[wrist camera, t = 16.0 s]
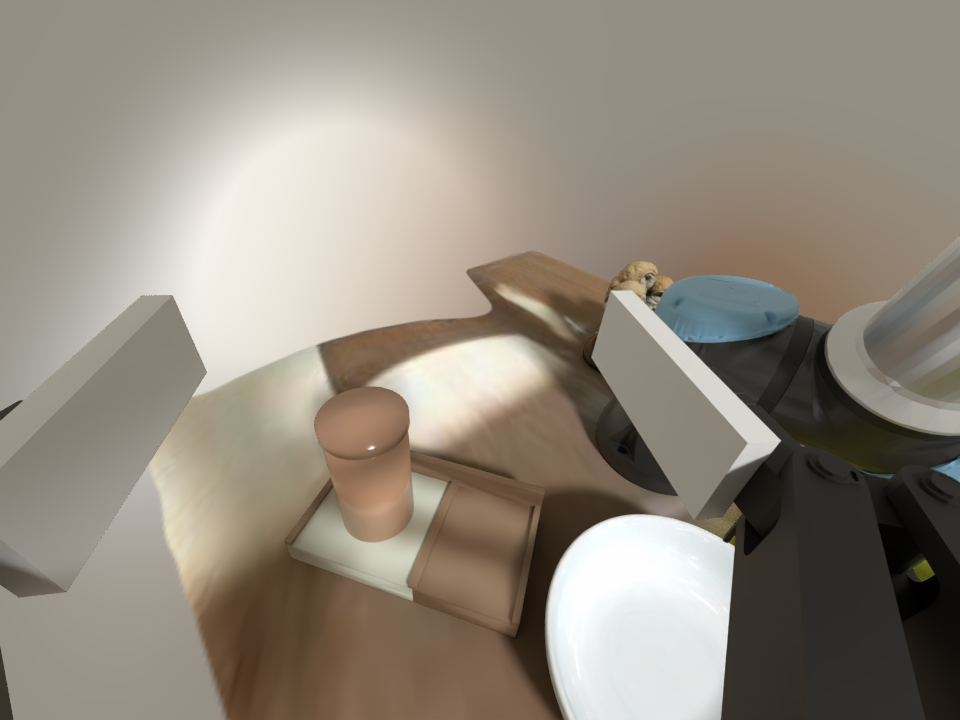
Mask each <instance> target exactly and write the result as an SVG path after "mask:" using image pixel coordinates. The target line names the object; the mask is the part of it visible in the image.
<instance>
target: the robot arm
mask: <svg viewBox="0 0 960 720" xmlns="http://www.w3.org/2000/svg"><path fill="white" fill-rule="evenodd" d="M591 358H592V359H593V361H594V362H595V364H596V366H597V367H598V369H599V370H600V372H601V374H602V375H603V377H604V378H605V380H606V381H607V383H608V385H609V386H610V388H611V389H612V391H613V393H614V394H615V397H614V398H613V400H612V401H611V402H610V403H609V404H608V405H607V406H606V407H605V408H604V410H603V411H602V413H601V415H600V418H599V421H598V424H597V427H596V441H597V445H598V447H599V449H600V451H601V453H602V455H603V456H604V458H605V459H606V460H607V462H608V463H609V464H610V465H611V466H612V467H613V468H614V469H615V470H616V471H617V472H618V473H620V474H621V475H622V476H624V477H625V478H626V479H628V480H629V481H631V482H633V483H635V484H636V485H638V486H641V487H643V488H645V489H647V490H650V491H653V492H657V493H661V494H665V495H673V496H679V497H680V499H681V500H682V502H683V504H684V505H685V507H686V508H687V510H688V512H689V513H690V515H691V516H692V518H693V520H700V519H709V518H717V517H722V516H723V515H724V514H725V513H726V511H727V510H728V509H729V507H730V506H731V505H732V503H733V502H734V503H735V504H736V505H737V507H738V508H739V509H740V511H741V512H742V513H743V514H742V515H741V516H740V517H739V519H738V520H737V521H736V522H735V523H734V525H733V526H732V527H731V528H730V530H729V531H728V532H727V533H726V534H725V537H724V539H723V541H724V542H726V543H728V542H729V541H730V540H731V539H732V538H733V536H736V538H735V550H734V563H733V575H732V587H731V600H730V612H729V625H728V637H727V649H726V662H725V674H724V687H723V699H722V711H721V720H960V482H959V481H960V236H959V237H958V238H957V239H956V240H955V241H953V243H951V244H950V245H949V246H948V247H947V248H946V249H945V250H944V251H943V252H942V253H940V254H939V255H938V256H937V257H936V258H935V259H934V260H933V261H932V262H931V263H930V264H928V265H927V266H926V267H925V268H924V269H923V270H922V271H921V272H920V273H919V274H918V275H917V276H915V277H914V278H913V279H912V280H911V281H910V282H909V283H908V284H907V285H906V286H905V287H904V288H902V289H901V290H900V291H899V292H898V293H897V294H896V295H895V296H894V297H893V298H892V299H891V300H889V301H880V302H873V303H870V304H865V305H862V306H860V307H857V308H855V309H853V310H851V311H848V312H847V313H846V314H844V315H843V316H842V317H840V318H839V319H838V320H837V321H836V322H835V323H834V324H829V323H826V322H822V321H819V320H816V319H811V318H807V317H804V316H801V315H799V303H798V300H797V299H796V298H795V297H794V296H793V295H792V294H790V293H789V292H787V291H785V290H783V289H780V288H774V287H773V285H771V284H769V283H765V282H762V281H758V280H753V279H748V278H743V277H735V276H724V275H705V276H695V277H689V278H685V279H682V280H680V281H677V282H675V283H673V284H672V285H670V286H669V287H668V288H667V289H666V290H665V291H664V293H663V294H662V296H661V298H660V301H659V303H658V305H657V307H656V309H655V312H653V311H652V310H651V309H650V308H649V307H648V306H647V305H646V304H645V303H644V302H643V301H642V300H641V299H640V298H639V297H638V296H637V295H636V294H635V293H634V292H633V291H632V290H628V291H610V295H609V298H608V302H607V305H606V309H605V312H604V315H603V319H602V322H601V326H600V329H599V333H598V336H597V339H596V343H595V346H594V350H593V353H592V357H591ZM206 373H207V371H206V369H205V367H204V365H203V362H202V360H201V358H200V356H199V353H198V352H197V349H196V347H195V344H194V342H193V340H192V338H191V336H190V334H189V331H188V329H187V327H186V324H185V322H184V320H183V318H182V315H181V313H180V311H179V309H178V306H177V304H176V302H175V300H174V298H173V296H172V295H159V296H158V295H154V296H141V297H140V298H138V299H137V300H136V301H135V302H134V303H133V304H132V305H131V306H129V307H128V308H127V309H126V310H125V311H124V312H123V313H122V314H121V315H119V316H118V317H117V318H116V319H115V320H114V321H113V322H112V323H110V324H109V325H108V326H107V327H106V328H105V329H104V330H103V331H101V332H100V333H99V334H98V335H97V336H96V337H95V338H93V339H92V340H91V341H90V342H89V343H88V344H87V345H85V346H84V347H83V348H82V349H81V350H80V351H79V352H78V353H76V354H75V355H74V356H73V357H72V358H71V359H70V360H69V361H67V362H66V363H65V364H64V365H63V366H62V367H61V368H60V369H59V370H57V371H56V372H55V373H54V374H53V375H52V376H51V377H49V378H48V379H47V380H46V381H45V382H44V383H43V384H42V385H40V386H39V387H38V388H37V389H36V390H35V391H34V392H33V393H31V394H30V395H29V396H28V397H27V398H26V399H25V400H21V401H18V402H16V403H14V404H12V405H11V406H9V407H7V408H5V409H4V410H2V411H0V585H2V586H3V587H5V588H6V589H7V590H9V591H10V592H12V593H13V594H15V595H16V596H17V597H28V596H37V595H45V594H54V593H63V592H67V591H68V589H69V588H70V586H71V585H72V583H73V581H74V580H75V578H76V576H77V575H78V574H79V572H80V570H81V569H82V567H83V566H84V564H85V563H86V561H87V559H88V558H89V556H90V555H91V553H92V552H93V550H94V549H95V547H96V545H97V544H98V542H99V541H100V539H101V538H102V536H103V534H104V533H105V531H106V530H107V528H108V527H109V525H110V523H111V522H112V520H113V519H114V517H115V516H116V514H117V513H118V511H119V509H120V508H121V506H122V505H123V503H124V502H125V500H126V498H127V496H128V495H129V494H130V492H131V491H132V489H133V487H134V486H135V484H136V482H137V481H138V480H139V478H140V476H141V475H142V473H143V472H144V470H145V469H146V467H147V466H148V464H149V462H150V461H151V459H152V458H153V456H154V455H155V453H156V451H157V450H158V448H159V447H160V445H161V444H162V442H163V440H164V439H165V437H166V436H167V434H168V433H169V431H170V430H171V428H172V426H173V425H174V423H175V422H176V420H177V419H178V417H179V415H180V414H181V412H182V411H183V409H184V408H185V406H186V404H187V403H188V401H189V400H190V398H191V397H192V395H193V393H194V392H195V390H196V389H197V387H198V386H199V384H200V382H201V381H202V379H203V378H204V376H205V375H206ZM800 444H801V445H804V446H806V447H802V446H801V445H800ZM858 470H859V471H861V472H863V473H866V474H869V475H866V474H861V473H860V472H859V471H858ZM871 475H875V476H871ZM876 476H877V477H876ZM924 560H927V562H928V563H929V565H930V567H931V568H932V570H933V572H934V573H935V575H934V576H932V577H931V578H929V579H927V580H926V581H923V582H921V581H920V579H919V578H918V577H917V576H916V574H915V572H914V570H913V569H912V568H914V567H915V566H917V565H918V564H920V563H921V562H923V561H924ZM0 720H13V715H12V710H11V704H10V699H9V693H8V687H7V681H6V676H5V670H4V665H3V660H2V654H1V649H0Z"/></svg>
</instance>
